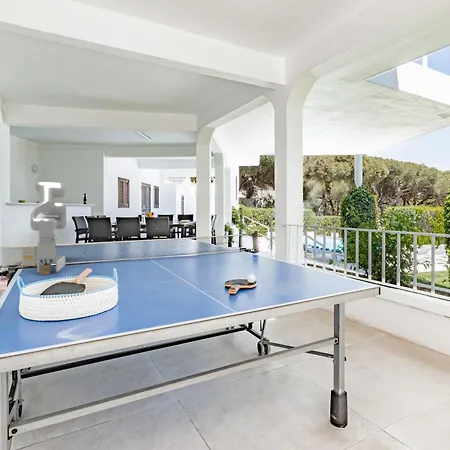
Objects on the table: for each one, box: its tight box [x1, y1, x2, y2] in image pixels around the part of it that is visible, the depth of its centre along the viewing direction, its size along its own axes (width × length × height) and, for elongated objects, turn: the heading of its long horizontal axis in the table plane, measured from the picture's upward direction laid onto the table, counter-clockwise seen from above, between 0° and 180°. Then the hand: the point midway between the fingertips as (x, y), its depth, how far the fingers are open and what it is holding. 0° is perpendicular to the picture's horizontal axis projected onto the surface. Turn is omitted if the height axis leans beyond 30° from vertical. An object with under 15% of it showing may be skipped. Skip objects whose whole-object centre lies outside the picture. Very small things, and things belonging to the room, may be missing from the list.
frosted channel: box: [36, 255, 66, 274], centre depth 216 cm, size 24×11×6 cm, turn 15°
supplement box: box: [21, 245, 39, 267], centre depth 222 cm, size 8×5×13 cm, turn 84°
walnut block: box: [38, 265, 52, 276], centre depth 199 cm, size 5×5×5 cm
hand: (46, 270), depth 203 cm, fingers closed
